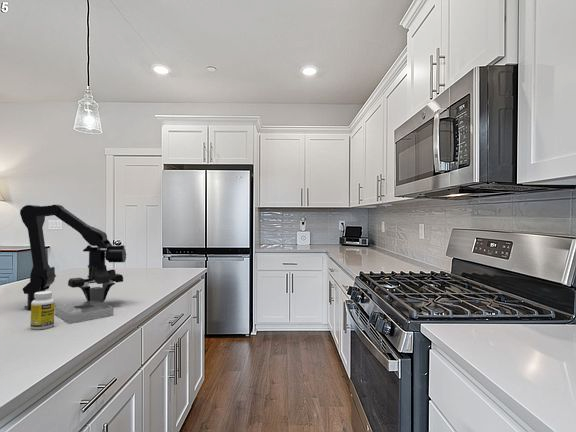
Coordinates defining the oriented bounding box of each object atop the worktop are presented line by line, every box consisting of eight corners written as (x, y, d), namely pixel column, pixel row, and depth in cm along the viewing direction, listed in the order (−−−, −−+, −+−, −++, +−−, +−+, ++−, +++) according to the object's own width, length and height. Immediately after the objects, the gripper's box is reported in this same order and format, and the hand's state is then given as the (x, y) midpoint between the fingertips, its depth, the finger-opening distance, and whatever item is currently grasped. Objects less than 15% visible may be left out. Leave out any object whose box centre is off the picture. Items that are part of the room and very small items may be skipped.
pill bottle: (42, 330, 109) (42, 295, 109) (25, 329, 111) (26, 293, 111) (58, 325, 115) (59, 291, 116) (42, 323, 117) (43, 290, 117)
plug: (89, 305, 141) (89, 287, 141) (99, 304, 144) (100, 286, 144) (92, 307, 138) (93, 288, 138) (103, 305, 141) (103, 287, 141)
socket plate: (54, 314, 128) (55, 303, 128) (96, 307, 138) (96, 297, 138) (69, 323, 117) (69, 312, 117) (113, 315, 127) (113, 304, 127)
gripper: (77, 266, 128) (77, 310, 128) (129, 262, 142) (128, 301, 142) (67, 263, 136) (67, 304, 136) (117, 260, 150) (117, 297, 150)
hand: (96, 301), depth 141 cm, fingers open, 5 cm apart
